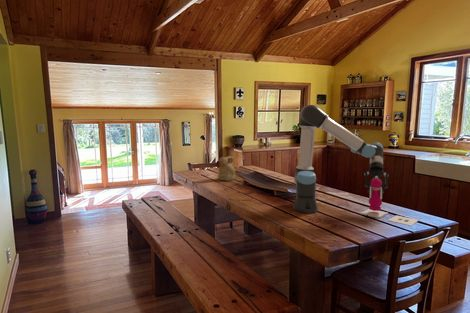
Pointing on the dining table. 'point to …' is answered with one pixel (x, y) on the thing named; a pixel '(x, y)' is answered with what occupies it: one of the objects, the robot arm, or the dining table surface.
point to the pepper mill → (375, 195)
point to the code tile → (403, 220)
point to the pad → (374, 213)
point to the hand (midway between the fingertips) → (375, 197)
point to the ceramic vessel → (226, 168)
